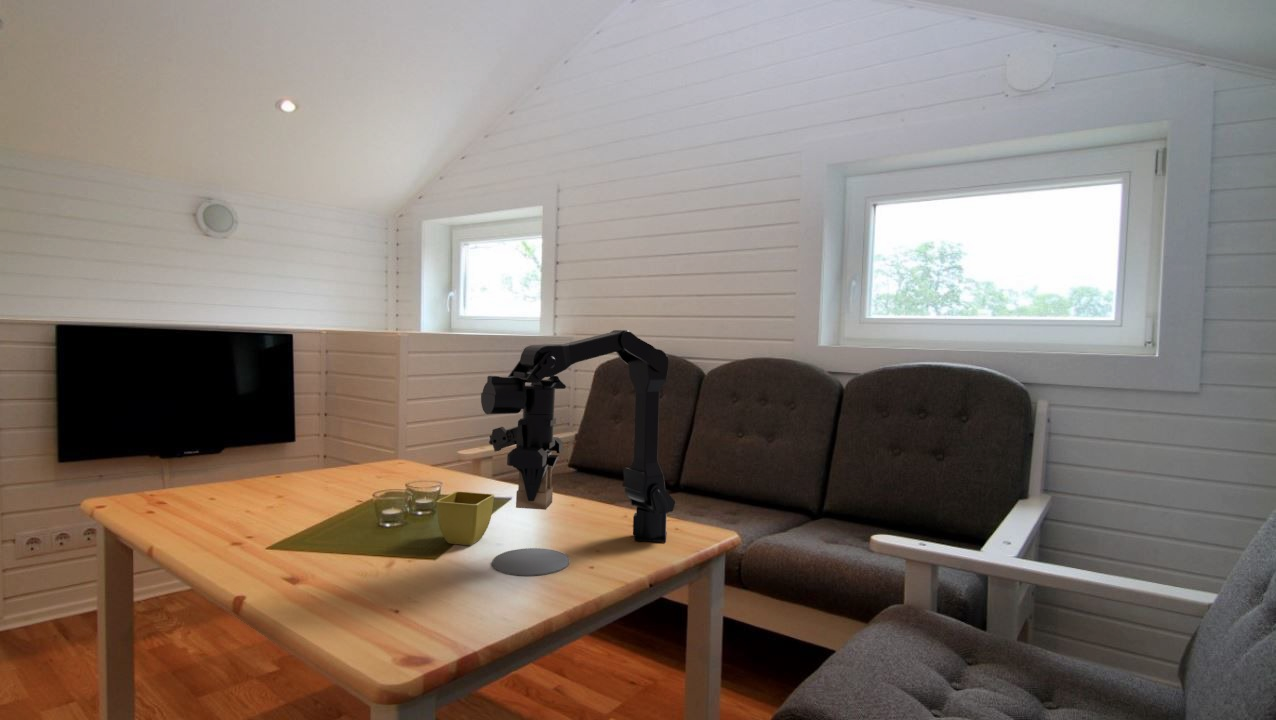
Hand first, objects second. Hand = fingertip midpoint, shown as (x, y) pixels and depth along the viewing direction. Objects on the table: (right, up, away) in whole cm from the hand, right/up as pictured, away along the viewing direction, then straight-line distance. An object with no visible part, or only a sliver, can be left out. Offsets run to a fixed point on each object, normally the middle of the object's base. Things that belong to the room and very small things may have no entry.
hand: (534, 497), depth 123 cm
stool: (0, -2, 0) cm, 2 cm away
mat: (-1, -12, 0) cm, 12 cm away
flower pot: (-16, -11, +11) cm, 22 cm away
